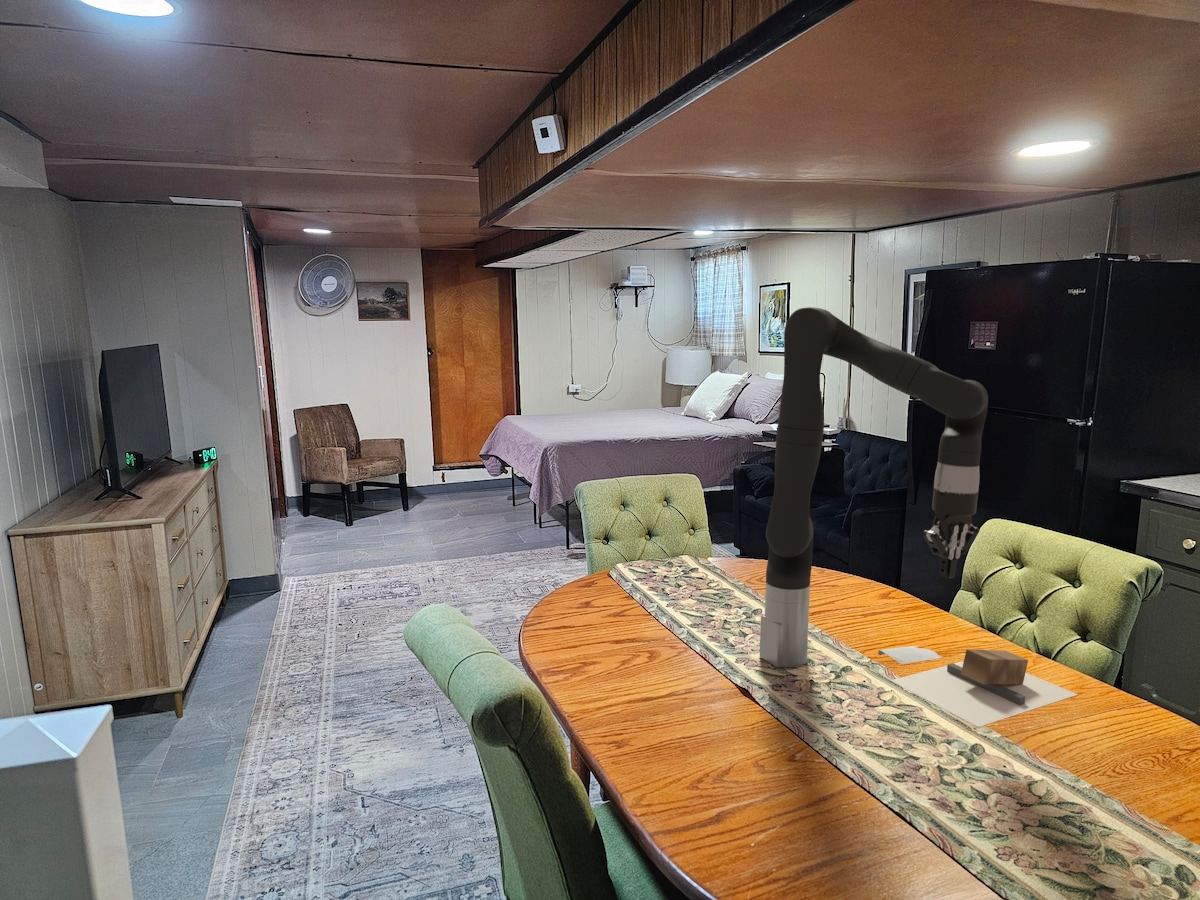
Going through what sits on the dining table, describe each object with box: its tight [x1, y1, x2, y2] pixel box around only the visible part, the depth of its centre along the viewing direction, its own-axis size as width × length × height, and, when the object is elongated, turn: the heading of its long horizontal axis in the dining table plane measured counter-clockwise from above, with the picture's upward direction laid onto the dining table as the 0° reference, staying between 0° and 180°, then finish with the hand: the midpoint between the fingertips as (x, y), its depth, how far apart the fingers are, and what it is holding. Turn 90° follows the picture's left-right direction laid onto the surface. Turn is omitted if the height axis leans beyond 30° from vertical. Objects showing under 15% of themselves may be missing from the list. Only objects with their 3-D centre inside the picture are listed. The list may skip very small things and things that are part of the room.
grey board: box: [890, 660, 1078, 728], centre depth 146 cm, size 28×20×2 cm
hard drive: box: [877, 644, 943, 665], centre depth 162 cm, size 2×8×12 cm
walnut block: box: [961, 649, 1029, 684], centre depth 147 cm, size 5×5×12 cm
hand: (947, 576), depth 141 cm, fingers closed
